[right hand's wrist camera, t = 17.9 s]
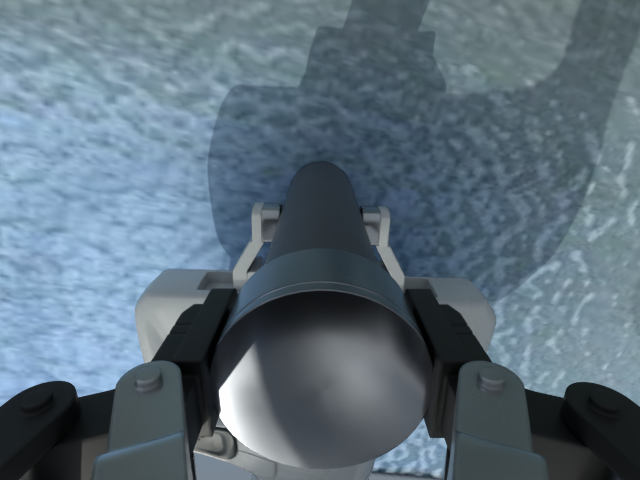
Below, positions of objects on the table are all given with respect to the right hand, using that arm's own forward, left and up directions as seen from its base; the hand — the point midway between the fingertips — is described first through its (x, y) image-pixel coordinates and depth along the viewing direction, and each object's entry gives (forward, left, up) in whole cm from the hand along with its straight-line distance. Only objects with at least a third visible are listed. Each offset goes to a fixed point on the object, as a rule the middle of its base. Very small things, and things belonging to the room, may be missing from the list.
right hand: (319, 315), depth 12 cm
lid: (0, 0, +3) cm, 3 cm away
